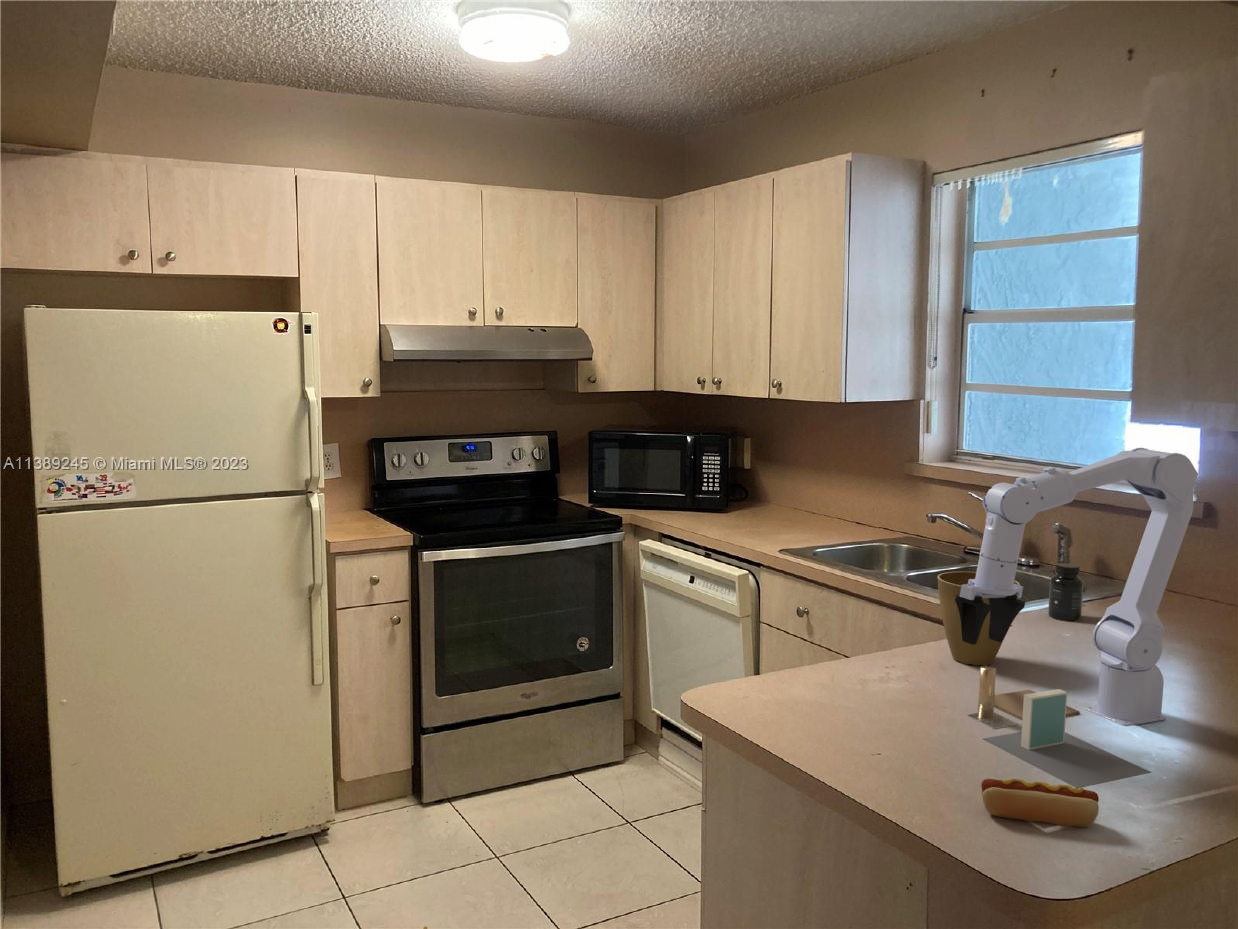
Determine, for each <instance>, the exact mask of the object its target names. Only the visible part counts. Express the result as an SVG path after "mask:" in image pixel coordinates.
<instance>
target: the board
mask: <svg viewBox="0 0 1238 929" xmlns="http://www.w3.org/2000/svg"><path fill="white" fill-rule="evenodd" d="M1032 693H1036V692H1035V691H1033V690H1031V689H1025V690H1020V691H1019V690H1018V691H1012V692H1006V693H1000V694H998V693H997V694H995V697H994V709H998V710H999V711H1002V712H1003V713H1006V714H1008V715H1010V716H1012V717H1014V718H1016V719H1019V720H1021V721H1022V719H1023V702H1024V695H1026V694H1032ZM1080 713H1081V712H1080V710H1077V709H1075V708H1073V707H1070V706H1068V705H1066V717H1069V716H1076V715H1080Z"/></svg>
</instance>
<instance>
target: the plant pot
mask: <svg viewBox="0 0 1238 929" xmlns="http://www.w3.org/2000/svg"><path fill="white" fill-rule="evenodd" d="M976 572H977V571H947V572H942V573H940V574H938V575H937V588H938V589H937V590H938V598H939V600H938V601H939V605H940V614H941V618H942V623H943V628H944V632H945V636H946V640H947V643H948V646H949V650H950V653H951V656H952V659H953V660H954V661H957V662H958V661H959V662H958V663H961V664H966V665H969V664H974V665H973V666H978V665H983V666H986V665H985V664H990V665H992V664H993V663H994V661H995V659H996V658H997V655H998V653H999V650H1000V648H1001V646H1002V644H1003V642H997V641H995V640H992V639H989V624H990V611H989V613H988V614H987V616H986V618H985V620H984V623H983V625H982V628H981V632H980V635H979V638H978V641H977V643H976V645H972V644H969V643H966V642H964V641H962V632H961V620H960V614H959V610H958V607H957V604H956V602H955V596H956V594H960V592H961V586H962V585H965V584H969V583H968V581H969V579H975V577H976ZM1014 584H1016V585H1019V586H1021V584H1020V582H1018V580H1015V579H1014ZM982 601H984V602H983V603H986V604H989V599H988V598H982ZM989 605H990V604H989ZM991 663H992V664H991Z"/></svg>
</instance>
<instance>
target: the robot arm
mask: <svg viewBox="0 0 1238 929" xmlns="http://www.w3.org/2000/svg"><path fill="white" fill-rule="evenodd" d="M1042 471H1043V472H1041V473H1038V474H1035V475H1032V476H1028V477H1024V476H1019V477H1017V478H1016V479H1015V482H1014V483H1013V484H1012V483H1008V482H998V483H996V484H994V485H993V486H991V488H989V490H988V491H987V493H986V495H985V496H982V507H983V509H984V511H985V513H986V517H985V526H984V530H983V536H982V542H981V545H980V551H979V556H978V557H979V558H978V563H977V568H976V571H975V572H976V577H975V579H969V581H968V583H969V584H965V585H962V586H961V592H960V594H956V596H955V602H956V604H957V607H958V610H959V614H960V620H961V632H962V641H964V642H966V643H969V644H972V645H976V643H977V641H978V638H979V635H980V632H981V628H982V625H983V623H984V620H985V618H986V616H987V614H988V613H989V611H990V624H989V639H992V640H995V641H997V642H1002V643H1003V642H1004V640H1005V637H1006V636H1007V634H1008V632H1009V630H1010V628H1011V626H1012V624H1013V622H1014V621H1015V619H1016V617H1017V616H1018V615H1019V613H1020V612H1021V611H1022V610H1024V608H1025V606H1026V605H1025V604H1026V601H1023V600H1021V598H1022V596H1023V591H1024V586H1022V585H1020V586H1019V585H1016V584H1014V580H1015V578H1016V574H1017V573H1016V572H1017V569H1018V562H1019V558H1020V553H1021V547H1022V544H1023V542H1022V541H1023V538H1024V533H1025V527H1026V524H1027V523H1029V522H1030V521H1031V520H1032V519H1033V518H1034V517H1035V516H1036V514H1038V513H1041V512H1044V511H1045V512H1046V511H1048V510H1051V509H1054V508H1056V507H1060V506H1063V505H1067V504H1069V503H1072V502H1073V501H1074V500H1075V497H1076V495H1077V493H1079V492H1082V491H1083V492H1084V491H1087V490H1091V489H1095V488H1098V487H1102V486H1106V485H1110V484H1113V483H1118V482H1121V481H1125V482H1127V484H1128V485H1129V486H1130V487H1132V488H1133V489H1135V490H1136V492H1137V493H1139V494H1140V495H1141V496H1143V498H1144V500H1145V501H1146V503H1147V505H1148V506H1149V508H1150V509H1151V513H1150V514H1149V515H1150V516H1149V518H1148V521H1147V523H1146V525H1145V529H1144V532H1143V536H1142V537H1141V541H1140V544H1139V546H1138V549H1137V551H1136V555H1135V557H1134V560H1133V563H1132V567H1131V569H1130V571H1129V573H1128V574H1129V575H1128V577H1127V579H1126V582H1125V585H1124V588H1123V591H1122V594H1121V597H1120V599H1119V601H1117V602H1115V603H1113V604H1112V605H1110V606H1108V607H1107V608H1106V609H1105V613H1104V615H1103V617H1102V618H1101V619H1100V620H1099V621H1098V622H1097V623H1096V624H1095V626H1094V628H1093V632H1092V642H1093V645H1094V646H1095V648H1097V650H1098V654H1099V655H1098V656H1099V658H1100V665H1099V680H1098V681H1099V682H1098V693H1097V694H1098V695H1097V704H1096V705H1091V706H1086V707H1084V710H1085V711H1088V712H1090V713H1092V714H1095V715H1096V716H1099V717H1102V718H1104V719H1107V720H1108V721H1111V722H1114V723H1116V724H1118V725H1120V726H1123V727H1128V726H1133V725H1134V726H1135V725H1137V726H1138V725H1141V724H1142V725H1143V724H1147V723H1153V722H1154V723H1155V722H1158V721H1165V720H1166V719H1167V717H1166V715H1164V714H1162V710H1163V697H1164V696H1163V695H1164V677H1163V674H1162V671H1161V669H1160V668H1159V667H1158V666H1157V665H1156V664H1157V663H1159V661H1160V659H1161V656H1162V655H1163V654H1162V653H1163V642H1162V638H1163V635H1164V632H1165V627H1164V625H1163V624H1162V622H1161V619H1160V617H1159V615H1158V613H1157V612H1158V610H1159V606H1160V603H1161V602H1162V599H1163V596H1164V594H1165V591H1166V587H1167V585H1168V581H1169V579H1170V576H1171V573H1172V571H1173V568H1174V565H1175V563H1176V559H1177V558H1178V557H1177V556H1178V554H1179V552H1180V549H1181V546H1182V543H1183V540H1184V537H1185V534H1186V532H1187V528H1188V527H1189V524H1190V520H1191V517H1192V515H1193V512H1194V487H1195V485H1196V483H1197V479H1198V477H1199V472H1198V471H1197V470H1196V468H1195V466H1194V464H1193V462H1192V461H1191V460H1190V458H1188V457H1187V456H1186V455H1184V454H1182V453H1178V452H1166V451H1160V450H1153V449H1149V448H1146V447H1145V448H1144V447H1136V448H1134V449H1133V448H1132V449H1130V450H1123V451H1120V452H1118V453H1117V454H1115V455H1113V456H1110V457H1107V458H1104V459H1102V460H1101V459H1100V460H1099V461H1096V462H1093V463H1090V464H1087V465H1086V466H1082V467H1080V468H1077V469H1075V470H1073V471H1069V472H1068V471H1066V470H1064V469H1062V468H1060V467H1059V468H1056V467H1053V466H1047V467H1044V468H1043V469H1042ZM982 598H988V599H989V604H990V605H989V604H986V603H983V602H984V601H982Z"/></svg>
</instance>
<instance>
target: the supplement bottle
mask: <svg viewBox="0 0 1238 929" xmlns="http://www.w3.org/2000/svg"><path fill="white" fill-rule="evenodd" d="M1054 571H1055V572H1054V573H1055V575H1053V576H1051V578H1050V580H1049V593H1048V595H1049V596H1048V607H1047V608H1048V609H1047V610H1048V611H1047V614H1048V616H1049V617H1050V618H1051V617H1052V619H1055V620H1057V619H1060V620H1059V621H1062V620H1067V621H1066V622H1076V621H1075V620H1078V621H1080V620H1081V619H1082V613H1083V612H1082V610H1083V600H1084V599H1083V598H1084V581H1083V579H1081V577H1079V575H1080V574H1081V572H1080V565H1077V564H1075V563H1066V562H1065V563H1064V562H1063V563H1062V562H1059V563H1056V564H1055V570H1054ZM1079 619H1080V620H1079Z"/></svg>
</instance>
